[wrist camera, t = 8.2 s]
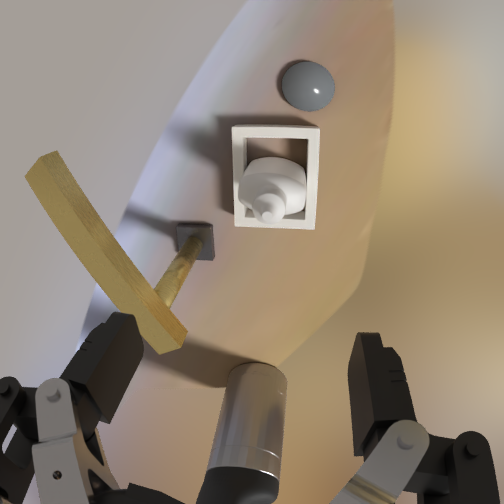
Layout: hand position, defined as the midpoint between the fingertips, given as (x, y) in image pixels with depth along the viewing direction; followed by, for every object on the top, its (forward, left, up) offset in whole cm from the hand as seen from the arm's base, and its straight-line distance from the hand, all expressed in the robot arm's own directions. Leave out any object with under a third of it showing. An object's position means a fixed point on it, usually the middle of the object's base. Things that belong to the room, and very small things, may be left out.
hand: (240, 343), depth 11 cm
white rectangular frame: (0, 0, -24) cm, 24 cm away
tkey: (-3, +12, -23) cm, 26 cm away
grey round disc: (+9, -3, -24) cm, 26 cm away
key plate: (-8, +9, -24) cm, 27 cm away
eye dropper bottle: (0, 0, -24) cm, 24 cm away
